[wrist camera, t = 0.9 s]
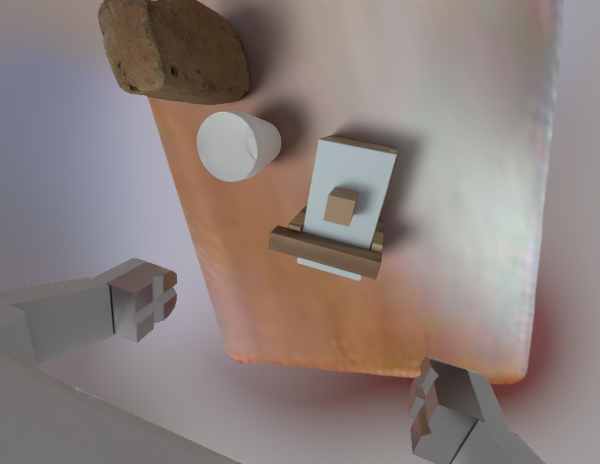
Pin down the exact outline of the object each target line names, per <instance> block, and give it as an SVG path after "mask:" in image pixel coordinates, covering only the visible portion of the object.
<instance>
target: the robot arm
mask: <svg viewBox="0 0 600 464" xmlns="http://www.w3.org/2000/svg"><path fill="white" fill-rule="evenodd" d="M176 283H177V274H176V273H175V272H173V271H171V270H168V269H165V268H163V267H160V266H157V265H155V264H152V263H148V262H146V261H143V260H140V259H131V260H128V261H126V262H124V263H122V264H121V265H118V266H116V267H114V268H112V269H110V270H108V271H106V272H104V273H102V274H100V275H98V276H96V277H94V278H92V279H90V278H81V279H74V280H68V281H61V282H55V283H48V284H42V285H36V286H29V287H23V288H17V289H10V290H4V291H0V464H241V463H238V462H236V461H234V460H232V459H230V458H228V457H225V456H223V455H221V454H219V453H217V452H215V451H212V450H210V449H208V448H206V447H204V446H202V445H199V444H197V443H195V442H193V441H191V440H189V439H186V438H184V437H182V436H180V435H178V434H176V433H173V432H171V431H169V430H167V429H165V428H163V427H160V426H158V425H156V424H154V423H152V422H150V421H147V420H145V419H143V418H141V417H139V416H137V415H135V414H132V413H130V412H128V411H126V410H124V409H121V408H119V407H117V406H115V405H113V404H111V403H109V402H106V401H104V400H102V399H100V398H98V397H96V396H94V395H91V394H89V393H87V392H85V391H83V390H81V389H78V388H76V387H74V386H72V385H70V384H68V383H65V382H63V381H61V380H59V379H56V378H55V377H52V376H50V375H48V374H46V373H44V372H42V371H39V368H38V365H40V364H42V363H45V362H47V361H50V360H52V359H55V358H57V357H60V356H63V355H65V354H68V353H70V352H73V351H75V350H78V349H81V348H83V347H86V346H88V345H91V344H93V343H96V342H99V341H101V340H104V339H106V338H109V337H111V336H113V335H114V334H115V335H118V336H120V337H123V338H126V339H129V340H131V341H134V342H136V343H137V342H139V341H140V340H141V339H142V338H143V337H144V336H146V335H147V334H148V333H149V332H150V331H152V330H153V328H154V323H157V322H160V321H163V320H164V319H166V318H167V317H168V316H169V315H170V313H171V312H172V310H173V309H174V307H175V304H176V300H177V294H176V292H175V290H174V288H173V287H174V285H175V284H176ZM420 371H421V375H420V376H418V377H415V378H414V381H413V383H412V386H411V389H410V394H409V414H410V415H411V417H412V418H413V419H414V422H413V424H412V426H411V428H410V429H411V441H412V452H413V454H414V455H417V456H419V457H421V458H424V459H426V460H428V461H431V462H433V463H435V464H545V463H544V462H543V461H542V460H541V459H540V458H539V457H538V456H537V455H536V453H534V451H533V450H532V449H531V448H530V447H529V446H528V445H527V444H526V443H525V442H524V441H523V440H522V439H521V438H520V437H519V436H518V435H517V434H516V433H513V432H510V430H509V428H508V425H507V423H506V421H505V418H504V416H503V413H502V411H501V409H500V407H499V404H498V401H497V399H496V397H495V394H494V392H493V390H492V387H491V385H490V382H489V380H488V378H487V377H486V376H485V375H484V374H481V373H478V372H475V371H472V370H468V369H465V368H464V369H463V368H460V367H457V366H454V365H451V364H448V363H445V362H442V361H439V360H436V359H433V358H430V357H427V356H426V357H425V358H424V359H423V361H422V363H421V365H420Z"/></svg>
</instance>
